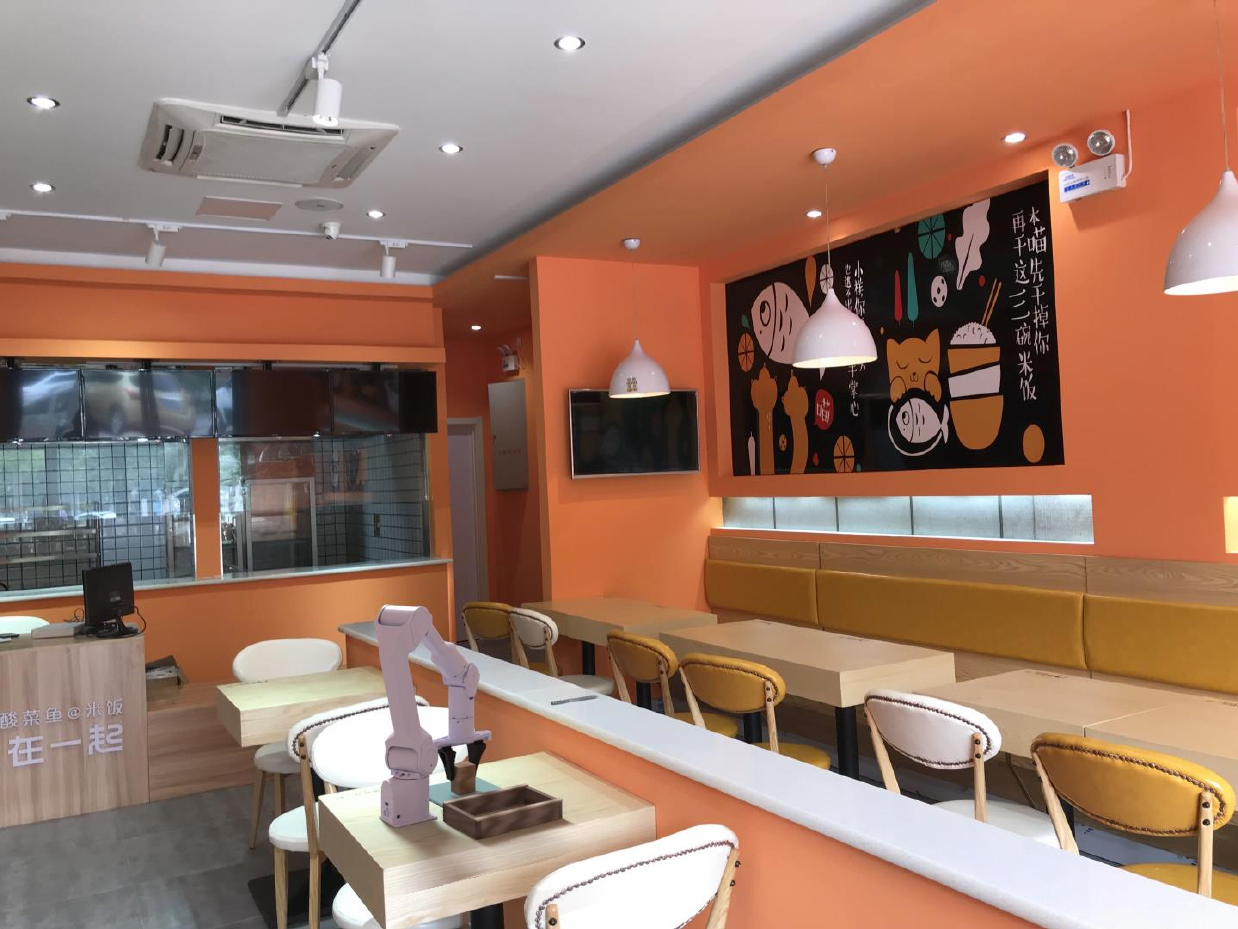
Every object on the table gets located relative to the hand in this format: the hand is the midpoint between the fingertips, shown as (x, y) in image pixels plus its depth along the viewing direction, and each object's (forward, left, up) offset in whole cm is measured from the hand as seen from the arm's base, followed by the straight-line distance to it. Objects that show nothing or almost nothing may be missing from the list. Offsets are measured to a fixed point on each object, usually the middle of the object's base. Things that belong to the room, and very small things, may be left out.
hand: (461, 777), depth 216 cm
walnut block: (0, -1, -3) cm, 3 cm away
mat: (0, 0, -3) cm, 3 cm away
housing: (-2, -21, -3) cm, 21 cm away
